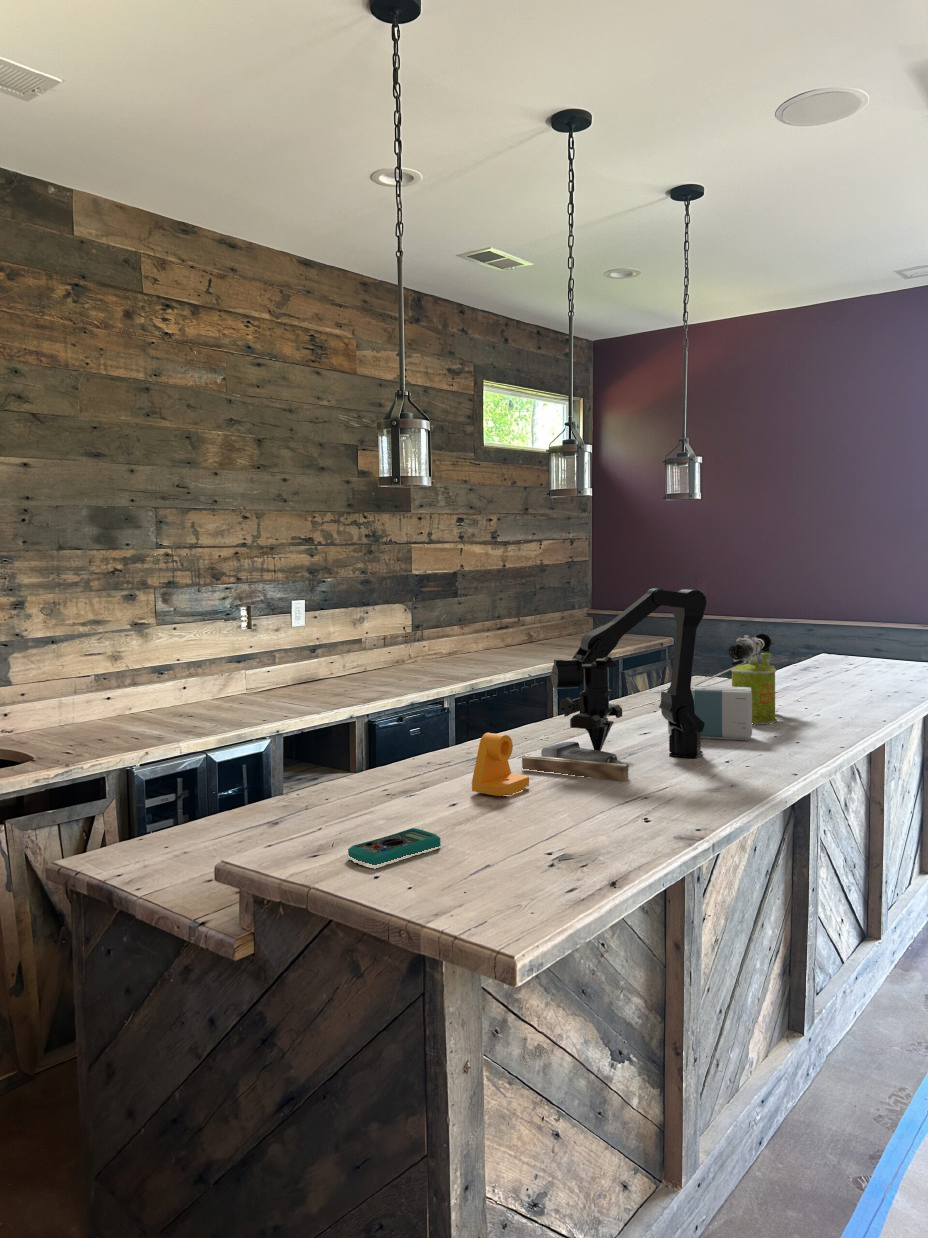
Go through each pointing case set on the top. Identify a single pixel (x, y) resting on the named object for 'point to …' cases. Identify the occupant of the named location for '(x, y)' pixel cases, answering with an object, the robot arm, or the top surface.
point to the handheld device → (578, 753)
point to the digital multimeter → (394, 846)
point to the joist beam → (577, 767)
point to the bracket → (496, 767)
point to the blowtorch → (755, 675)
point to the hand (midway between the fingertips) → (597, 752)
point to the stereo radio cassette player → (723, 710)
